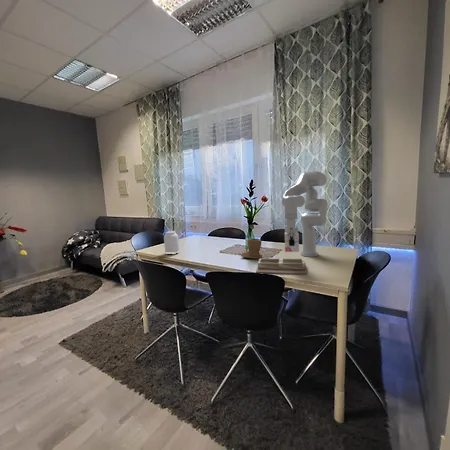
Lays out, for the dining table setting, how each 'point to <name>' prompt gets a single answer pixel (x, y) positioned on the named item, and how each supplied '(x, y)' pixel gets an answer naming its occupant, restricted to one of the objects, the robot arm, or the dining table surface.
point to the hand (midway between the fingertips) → (291, 244)
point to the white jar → (171, 242)
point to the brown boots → (253, 249)
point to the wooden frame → (281, 266)
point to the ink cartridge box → (296, 242)
